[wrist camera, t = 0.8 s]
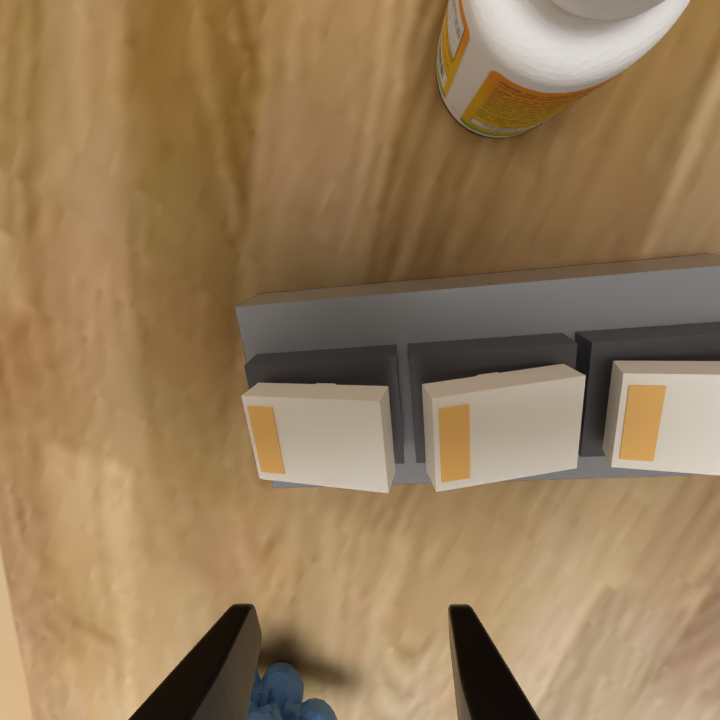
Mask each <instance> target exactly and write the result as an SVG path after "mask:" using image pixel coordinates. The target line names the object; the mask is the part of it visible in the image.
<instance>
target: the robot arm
mask: <svg viewBox="0 0 720 720" xmlns="http://www.w3.org/2000/svg"><path fill="white" fill-rule="evenodd" d="M448 616H449V639H450V650H451V659H452V668H453V677H454V687H455V696H456V705H457V714H458V720H540V719H539V717H538V716H537V714H536V712H535V711H534V709H533V707H532V706H531V704H530V702H529V701H528V699H527V697H526V696H525V694H524V692H523V691H522V689H521V688H520V686H519V684H518V683H517V681H516V679H515V678H514V676H513V674H512V673H511V671H510V669H509V668H508V666H507V664H506V663H505V661H504V660H503V658H502V656H501V655H500V653H499V651H498V650H497V648H496V646H495V645H494V643H493V641H492V640H491V638H490V636H489V635H488V633H487V632H486V630H485V628H484V627H483V625H482V623H481V622H480V620H479V618H478V617H477V615H476V613H475V612H474V610H473V609H472V608H471V606H469V605H467V604H452V605H450V606H449V608H448ZM261 640H262V635H261V629H260V625H259V621H258V617H257V613H256V610H255V607H254V606H253V605H252V604H234V605H232V606H231V607H230V608H229V609H228V610H227V611H226V612H225V613H224V614H223V615H222V617H221V618H220V619H219V620H218V621H217V622H216V623H215V624H214V625H213V627H212V628H211V629H210V630H209V631H208V632H207V633H206V634H205V635H204V636H203V638H202V639H201V640H200V641H199V642H198V643H197V644H196V645H195V646H194V648H193V649H192V650H191V651H190V652H189V653H188V654H187V655H186V656H185V657H184V659H183V660H182V661H181V662H180V663H179V664H178V665H177V666H176V667H175V669H174V670H173V671H172V672H171V673H170V674H169V675H168V676H167V677H166V679H165V680H164V681H163V682H162V683H161V684H160V685H159V686H158V687H157V688H156V690H155V691H154V692H153V693H152V694H151V695H150V696H149V697H148V698H147V700H146V701H145V702H144V703H143V704H142V705H141V706H140V707H139V708H138V709H137V711H136V712H135V713H134V714H133V715H132V716H131V717H130V718H129V719H128V720H246V717H247V712H248V707H249V702H250V697H251V692H252V687H253V682H254V677H255V672H256V667H257V662H258V657H259V652H260V647H261Z"/></svg>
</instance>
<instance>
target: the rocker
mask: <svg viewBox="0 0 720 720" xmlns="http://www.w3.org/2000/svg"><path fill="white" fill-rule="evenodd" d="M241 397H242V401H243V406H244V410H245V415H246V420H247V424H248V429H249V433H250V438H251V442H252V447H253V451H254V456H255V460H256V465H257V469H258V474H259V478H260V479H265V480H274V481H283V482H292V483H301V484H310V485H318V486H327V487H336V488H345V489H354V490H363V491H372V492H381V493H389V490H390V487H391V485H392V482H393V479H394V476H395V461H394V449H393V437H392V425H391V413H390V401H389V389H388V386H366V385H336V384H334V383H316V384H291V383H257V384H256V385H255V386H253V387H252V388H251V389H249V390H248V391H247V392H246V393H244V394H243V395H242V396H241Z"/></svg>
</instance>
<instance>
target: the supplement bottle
mask: <svg viewBox="0 0 720 720" xmlns="http://www.w3.org/2000/svg"><path fill="white" fill-rule="evenodd" d="M689 2H690V0H448V5H447V8H446V13H445V17H444V21H443V25H442V29H441V33H440V38H439V43H438V50H437V61H436V68H437V79H438V84H439V89H440V92H441V95H442V98H443V100H444V102H445V104H446V106H447V108H448V110H449V111H450V113H451V114H452V115H453V116H454V118H455V119H456V120H457V121H458V122H459V123H461V124H462V125H463V126H464V127H466V128H467V129H469V130H471V131H473V132H475V133H478V134H480V135H483V136H488V137H495V138H502V137H511V136H515V135H519V134H522V133H524V132H526V131H529V130H531V129H533V128H535V127H537V126H539V125H540V124H542V123H543V122H545V121H547V120H548V119H550V118H551V117H553V116H554V115H556V114H557V113H559V112H560V111H562V110H563V109H565V108H567V107H568V106H570V105H571V104H573V103H574V102H576V101H577V100H579V99H581V98H582V97H584V96H585V95H587V94H588V93H590V92H591V91H593V90H595V89H596V88H598V87H599V86H601V85H603V84H605V83H606V82H607V81H609V80H611V79H612V78H614V77H615V76H617V75H618V74H620V73H621V72H622V71H624V70H625V69H627V68H628V67H630V66H631V65H632V64H633V63H634V62H636V61H637V60H638V59H639V58H641V57H642V56H643V55H644V54H646V53H647V52H648V51H649V50H650V49H651V48H652V47H653V46H654V45H656V44H657V43H658V42H659V41H660V39H661V38H662V37H663V36H664V35H665V34H666V33H667V32H668V31H669V30H670V28H671V27H672V26H673V24H674V23H675V22H676V21H677V19H678V18H679V17H680V15H681V14H682V13H683V11H684V10H685V8H686V6H687V5H688V3H689Z"/></svg>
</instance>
